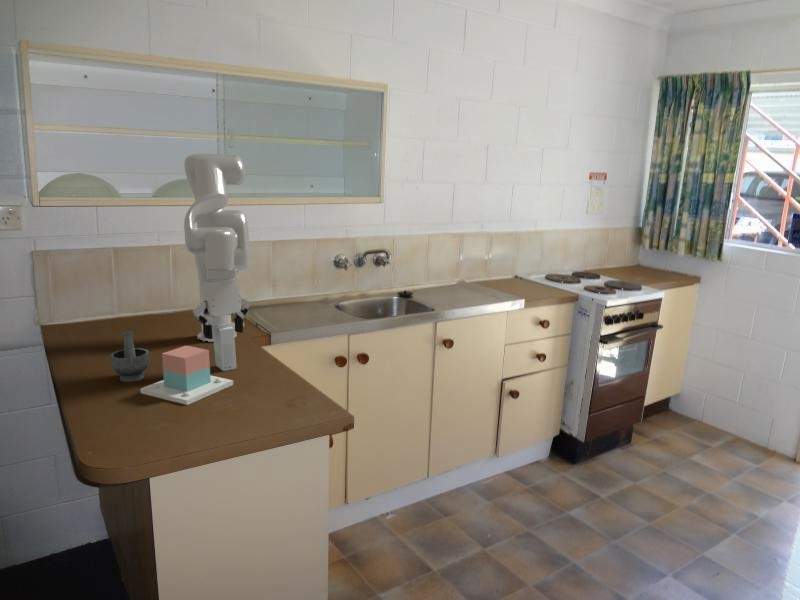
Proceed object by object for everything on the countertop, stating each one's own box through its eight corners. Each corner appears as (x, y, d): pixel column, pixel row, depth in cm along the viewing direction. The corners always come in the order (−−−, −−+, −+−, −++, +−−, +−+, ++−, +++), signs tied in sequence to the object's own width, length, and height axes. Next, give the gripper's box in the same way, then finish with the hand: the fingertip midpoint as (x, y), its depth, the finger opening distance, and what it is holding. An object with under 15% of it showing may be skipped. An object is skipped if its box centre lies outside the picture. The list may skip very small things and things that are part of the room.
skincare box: (237, 368, 173) (235, 327, 170) (221, 371, 170) (219, 330, 168) (229, 363, 178) (227, 323, 175) (214, 366, 175) (211, 325, 173)
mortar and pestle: (151, 381, 163) (148, 337, 160) (113, 386, 159) (109, 341, 156) (148, 368, 172) (145, 327, 170) (112, 373, 168) (108, 331, 166)
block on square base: (188, 374, 168) (186, 339, 166) (233, 384, 161) (231, 348, 159) (140, 393, 154) (137, 355, 152) (187, 405, 147) (184, 365, 145)
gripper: (240, 270, 177) (242, 327, 180) (184, 276, 164) (188, 338, 168) (255, 272, 172) (257, 331, 175) (199, 279, 159) (203, 343, 163)
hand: (224, 335), depth 171 cm, fingers open, 9 cm apart
